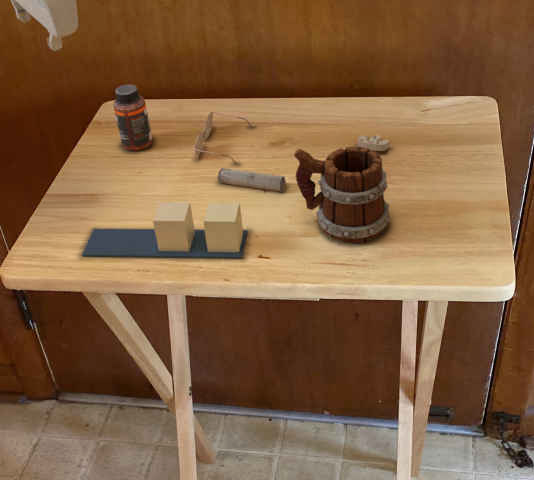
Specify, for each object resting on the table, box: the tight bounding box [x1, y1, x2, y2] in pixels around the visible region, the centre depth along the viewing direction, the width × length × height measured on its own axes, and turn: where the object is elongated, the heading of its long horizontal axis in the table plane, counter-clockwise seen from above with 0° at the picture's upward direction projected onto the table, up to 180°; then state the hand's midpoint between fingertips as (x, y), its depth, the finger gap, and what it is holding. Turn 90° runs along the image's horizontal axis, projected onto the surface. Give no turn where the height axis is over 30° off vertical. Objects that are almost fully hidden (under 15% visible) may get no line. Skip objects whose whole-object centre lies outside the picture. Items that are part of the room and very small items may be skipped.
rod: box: [217, 167, 286, 193], centre depth 142 cm, size 12×3×3 cm, turn 70°
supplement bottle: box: [113, 84, 153, 151], centre depth 152 cm, size 6×6×11 cm
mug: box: [293, 146, 390, 244], centre depth 128 cm, size 12×14×15 cm
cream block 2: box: [202, 202, 244, 252], centre depth 128 cm, size 5×5×6 cm
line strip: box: [81, 228, 249, 260], centre depth 132 cm, size 26×7×1 cm, turn 83°
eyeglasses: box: [193, 110, 253, 165], centre depth 152 cm, size 14×8×4 cm, turn 168°
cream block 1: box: [152, 201, 196, 252], centre depth 129 cm, size 5×5×6 cm
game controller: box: [356, 134, 390, 152], centre depth 145 cm, size 6×12×3 cm, turn 173°
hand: (39, 33), depth 131 cm, fingers open, 8 cm apart
